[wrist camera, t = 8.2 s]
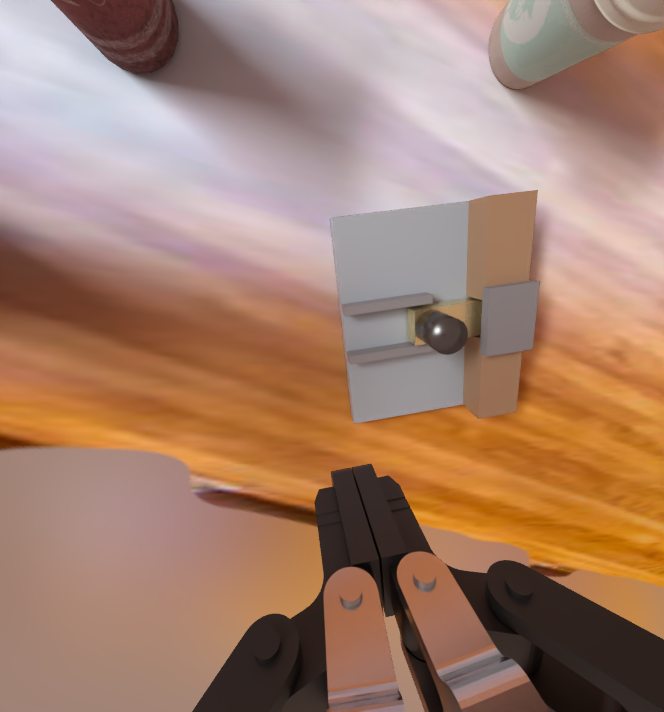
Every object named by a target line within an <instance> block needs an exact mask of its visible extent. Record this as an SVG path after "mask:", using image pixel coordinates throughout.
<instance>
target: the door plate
mask: <svg viewBox="0 0 664 712" xmlns="http://www.w3.org/2000/svg"><path fill="white" fill-rule="evenodd" d="M537 193H538V190H534V191H525V192H517V193H509V194H500V195H492V196H487V197H483V198H479V199H475V200H471V201H466V202H457V203H449V204H441V205H432V206H424V207H415V208H407V209H399V210H390V211H382V212H374V213H365V214H357V215H349V216H340V217H332V218H331V219H330V225H331V234H332V243H333V252H334V261H335V270H336V279H337V288H338V297H339V306H340V315H341V324H342V333H343V342H344V351H345V360H346V369H347V378H348V387H349V396H350V405H351V414H352V418H353V421H354V424H355V423H361V422H367V421H372V420H378V419H384V418H389V417H395V416H401V415H406V414H412V413H418V412H423V411H429V410H435V409H440V408H446V407H452V406H457V405H464V406H465V407H466V408H467V409H468V410H469V411H471V412H472V413H473V414H474V415H475V416H476V417H477V418H478V419H480V418H486V417H491V416H497V415H502V414H508V413H514V412H516V410H517V399H518V389H519V379H520V368H521V358H522V351H525V350H531V349H533V340H534V331H535V322H536V313H537V304H538V294H539V285H540V281H533V280H529V275H530V265H531V255H532V244H533V234H534V224H535V213H536V203H537ZM465 298H476V299H479V300H482V318H481V336H474V337H468V338H467V341H466V343H465V345H464V346H463V347H462V348H461V349H460V350H459V351H458V352H456V353H454V354H450V355H444V354H440V353H439V352H437V351H436V350H434V349H433V348H431V347H430V346H429V345H427V344H424V345H417V346H415V345H414V344H413V343H411V342H410V341H409V340H408V337H407V310H406V307H411V306H418V305H425V304H431V303H438V302H445V301H452V300H458V299H465Z"/></svg>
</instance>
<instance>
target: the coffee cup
mask: <svg viewBox="0 0 664 712" xmlns="http://www.w3.org/2000/svg"><path fill="white" fill-rule="evenodd" d="M663 28H664V0H509V2H508V3H507V5H506V6H505V7H504V9H503V10H502V12H501V13H500V15H499V16H498V18H497V20H496V21H495V24H494V26H493V29H492V32H491V35H490V41H489V59H490V64H491V67H492V70H493V72H494V74H495V76H496V77H497V79H498V80H499V81H500V82H501V83H502V84H503V85H505V86H506V87H509V88H512V89H523V88H527V87H529V86H531V85H533V84H536V83H538V82H540V81H542V80H544V79H546V78H548V77H550V76H553V75H555V74H557V73H559V72H561V71H563V70H565V69H567V68H569V67H571V66H573V65H575V64H577V63H580V62H582V61H584V60H586V59H588V58H590V57H592V56H594V55H596V54H598V53H600V52H602V51H604V50H607V49H609V48H611V47H613V46H615V45H617V44H619V43H621V42H623V41H625V40H627V39H629V38H632V37H634V36H636V35H638V34H643V33H651V32H655V31H658V30H661V29H663Z"/></svg>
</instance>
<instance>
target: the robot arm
mask: <svg viewBox="0 0 664 712" xmlns="http://www.w3.org/2000/svg"><path fill="white" fill-rule="evenodd" d="M331 478H332V485H333V487H329V488H324V489H319V491H318V494H317V497H316V500H315V509H316V516H317V524H318V532H319V540H320V548H321V556H322V564H323V571H324V580H323V585H322V589H321V592H320V593H319V595H318V597H317V598H316V599H315V601H314V602H313V603H312V604H311V605H310V606H309V607H307V608H306V609H305V610H303V611H302V612H300V613H299V614H297V615H295V616H294V617H292V618H291V619H289V618H287V617H286V616H284V615H281V614H269V615H266V616H263V617H262V618H260V619H258V620H257V621H256V622H254V623H253V624H252V625H251V626H250V628H249V629H248V630H247V631H246V633H245V634H244V636H243V637H242V639H241V640H240V642H239V643H238V645H237V646H236V647H235V649H234V650H233V652H232V654H231V655H230V656H229V658H228V659H227V661H226V663H225V664H224V665H223V667H222V668H221V670H220V671H219V673H218V674H217V676H216V677H215V679H214V680H213V682H212V683H211V685H210V686H209V688H208V689H207V691H206V692H205V694H204V695H203V697H202V698H201V699H200V701H199V702H198V704H197V705H196V707H195V709H194V710H193V711H192V712H406V711H405V707H404V703H403V699H402V696H401V694H400V692H399V689H398V684H397V680H396V675H395V671H394V665H393V661H392V656H391V651H390V646H389V641H388V637H387V632H386V626H385V622H384V617H383V616H384V615H383V608H384V612H385V615H386V617H389V616H393V615H395V618H396V621H397V624H398V627H399V630H400V639H401V640H400V641H401V647H402V651H403V654H404V656H405V659H406V662H407V664H408V667H409V670H410V673H411V675H412V678H413V681H414V684H415V686H416V689H417V692H418V695H419V697H420V700H421V703H422V706H423V708H424V711H425V712H664V640H663V639H662V638H660V637H658V636H656V635H654V634H652V633H650V632H649V631H647V630H645V629H643V628H641V627H639V626H637V625H635V624H633V623H632V622H630V621H628V620H626V619H624V618H622V617H620V616H619V615H617V614H615V613H613V612H611V611H609V610H607V609H606V608H604V607H602V606H600V605H598V604H596V603H594V602H593V601H591V600H589V599H587V598H585V597H583V596H581V595H579V594H577V593H576V592H574V591H572V590H570V589H568V588H566V587H565V586H563V585H561V584H559V583H557V582H555V581H553V580H551V579H550V578H548V577H546V576H544V575H542V574H540V573H538V572H537V571H535V570H533V569H531V568H529V567H527V566H525V565H523V564H521V563H518V562H515V561H510V560H509V561H508V560H503V561H498V562H496V563H494V564H492V565H491V566H490V568H489V569H488V572H487V573H478V572H469V571H462V570H458V569H455V568H452V567H450V566H448V565H446V564H445V563H444V562H443V561H442V560H441V559H439V558H438V557H437V556H436V555H435V554H434V553H433V551H432V550H431V548H430V546H429V544H428V542H427V540H426V538H425V536H424V534H423V532H422V530H421V528H420V527H419V524H418V522H417V520H416V518H415V516H414V514H413V512H412V510H411V509H410V506H409V504H408V502H407V500H406V499H405V496H404V494H403V492H402V490H401V488H400V486H399V484H398V483H396V482H395V481H394V480H393V479H392V478H391V477H389V476H384V477H379V478H377V476H376V473H375V471H374V469H373V466H372V464H367V465H362V466H356V467H352V468H347V469H341V470H336V471H331Z"/></svg>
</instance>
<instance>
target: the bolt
mask: <svg viewBox="0 0 664 712" xmlns="http://www.w3.org/2000/svg"><path fill="white" fill-rule="evenodd" d="M406 310H407V337H408V340H409V341H410V342H411V343H413V344H414V345H415V346H417V345H424V344H427V345H429V346H430V347H431V348H433V349H434V350H436V351H437V352H439V353H440V354H444V355H450V354H454V353H456V352H458V351H459V350H460V349H461V348H462V347H463V346H464V345H465V343H466V341H467V338H468V337H474V336H481V318H482V300H479V299H476V298H465V299H458V300H452V301H445V302H438V303H431V304H425V305H418V306H411V307H406Z"/></svg>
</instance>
